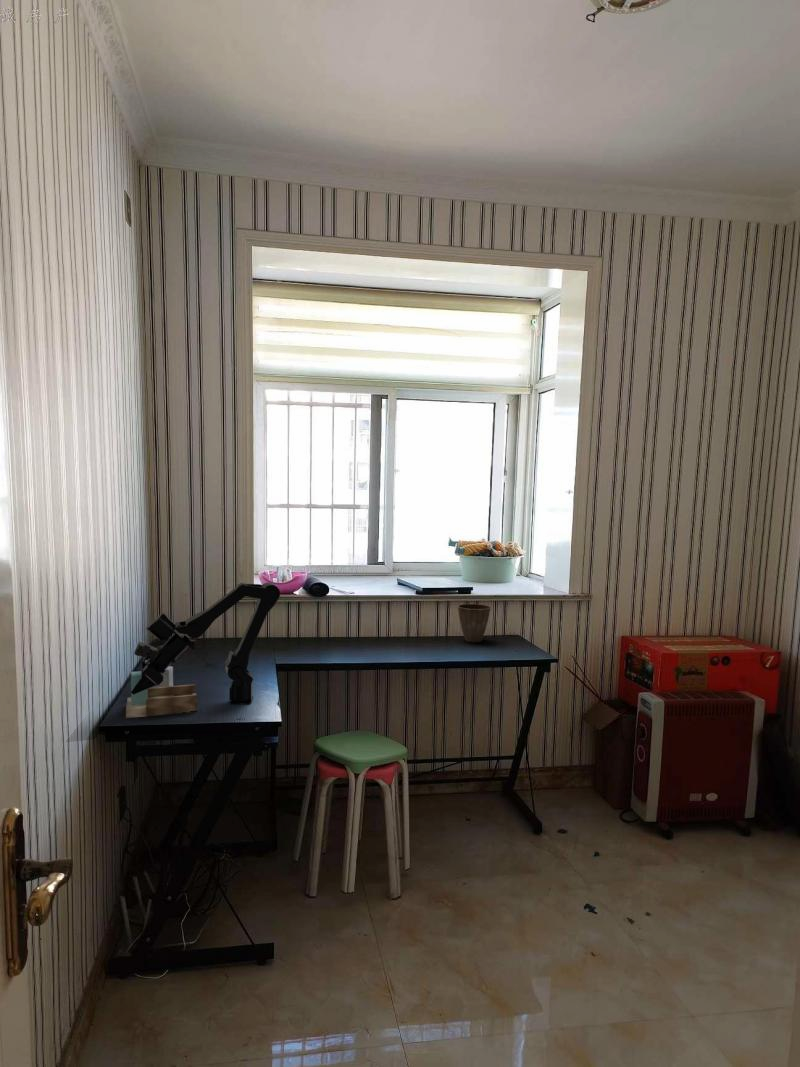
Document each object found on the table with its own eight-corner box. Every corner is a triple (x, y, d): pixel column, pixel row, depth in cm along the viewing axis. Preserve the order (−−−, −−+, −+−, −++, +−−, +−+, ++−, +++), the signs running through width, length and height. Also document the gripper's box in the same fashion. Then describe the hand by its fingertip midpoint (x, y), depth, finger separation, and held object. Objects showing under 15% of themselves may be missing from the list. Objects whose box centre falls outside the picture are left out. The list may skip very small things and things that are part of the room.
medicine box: (173, 691, 218) (173, 666, 218) (169, 695, 214) (169, 669, 213) (149, 691, 218) (149, 665, 218) (144, 695, 214) (144, 669, 213)
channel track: (195, 699, 210) (195, 684, 210) (197, 711, 199) (197, 695, 199) (127, 705, 203) (127, 689, 203) (126, 718, 192) (125, 701, 192)
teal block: (147, 699, 202) (147, 670, 201) (147, 704, 198) (147, 674, 197) (131, 700, 200) (131, 671, 200) (131, 705, 196) (131, 675, 195)
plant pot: (453, 637, 309) (454, 603, 308) (483, 636, 312) (484, 603, 311) (461, 644, 295) (462, 609, 294) (493, 644, 297) (494, 609, 296)
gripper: (151, 627, 208) (113, 664, 204) (150, 639, 190) (109, 680, 187) (177, 650, 211) (140, 686, 208) (179, 664, 193) (139, 705, 190)
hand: (132, 689), depth 198 cm, fingers open, 9 cm apart
